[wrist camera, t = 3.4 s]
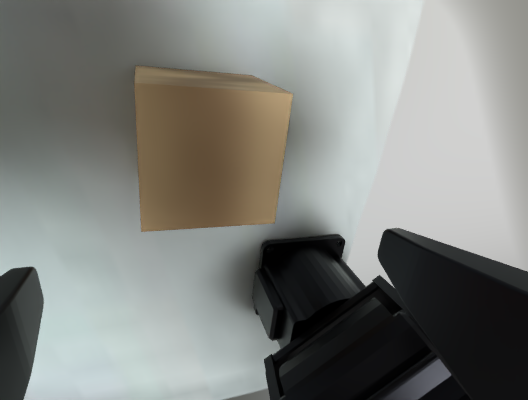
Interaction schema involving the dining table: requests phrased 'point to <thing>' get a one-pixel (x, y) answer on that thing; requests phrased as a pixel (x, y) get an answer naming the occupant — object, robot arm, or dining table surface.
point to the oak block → (208, 148)
